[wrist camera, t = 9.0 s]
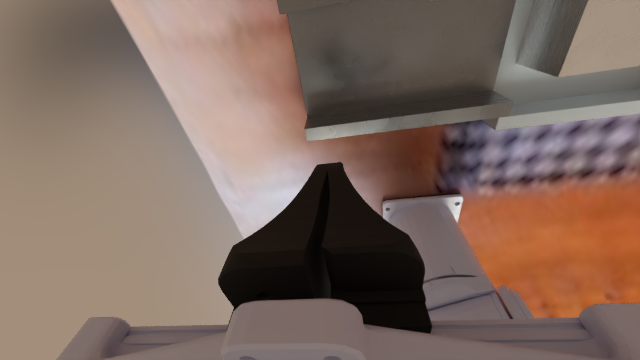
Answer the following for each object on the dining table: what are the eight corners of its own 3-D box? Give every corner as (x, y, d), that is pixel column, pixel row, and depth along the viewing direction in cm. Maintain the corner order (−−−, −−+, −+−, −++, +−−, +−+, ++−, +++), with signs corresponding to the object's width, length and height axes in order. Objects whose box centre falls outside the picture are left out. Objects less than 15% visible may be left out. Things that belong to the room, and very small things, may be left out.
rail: (483, 99, 19) (509, 116, 16) (310, 122, 21) (306, 141, 18) (519, -55, 14) (566, -71, 11) (285, -6, 16) (274, -8, 13)
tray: (663, 94, 18) (704, 105, 16) (479, 117, 20) (495, 130, 18) (832, -162, 11) (941, -199, 9) (528, -93, 13) (563, -111, 11)
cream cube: (579, 54, 16) (639, 66, 13) (515, 63, 17) (558, 77, 14) (610, -21, 14) (692, -29, 11) (535, -7, 15) (592, -10, 12)
